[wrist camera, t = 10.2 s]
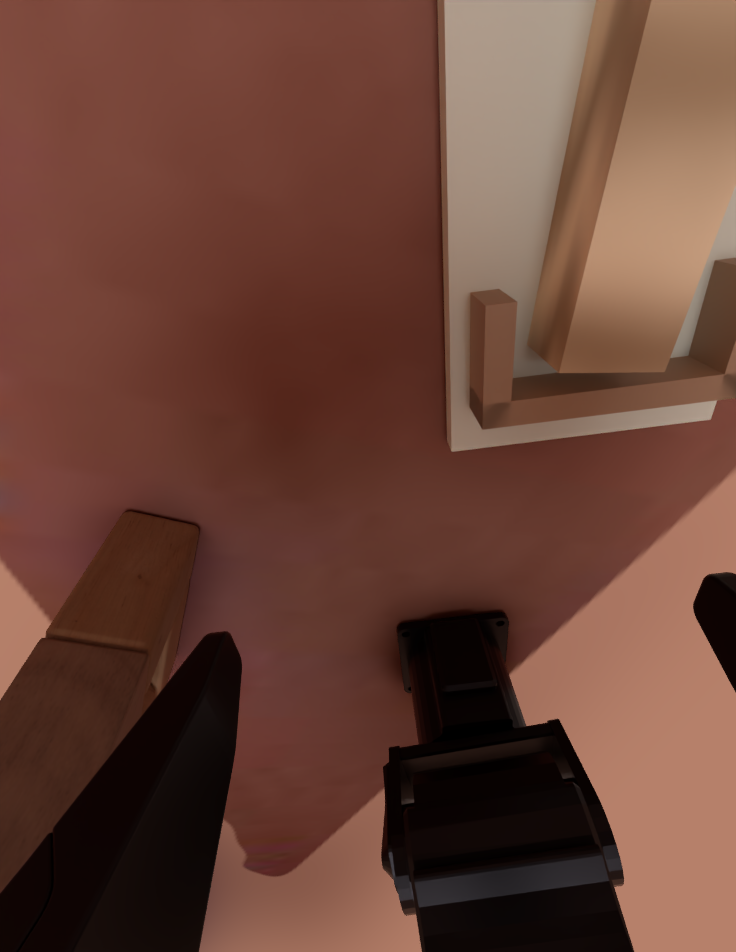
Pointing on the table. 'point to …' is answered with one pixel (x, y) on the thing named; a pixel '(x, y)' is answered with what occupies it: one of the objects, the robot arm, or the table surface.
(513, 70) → the slat board
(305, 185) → the table surface
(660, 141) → the slat
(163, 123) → the table surface
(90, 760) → the wooden block
